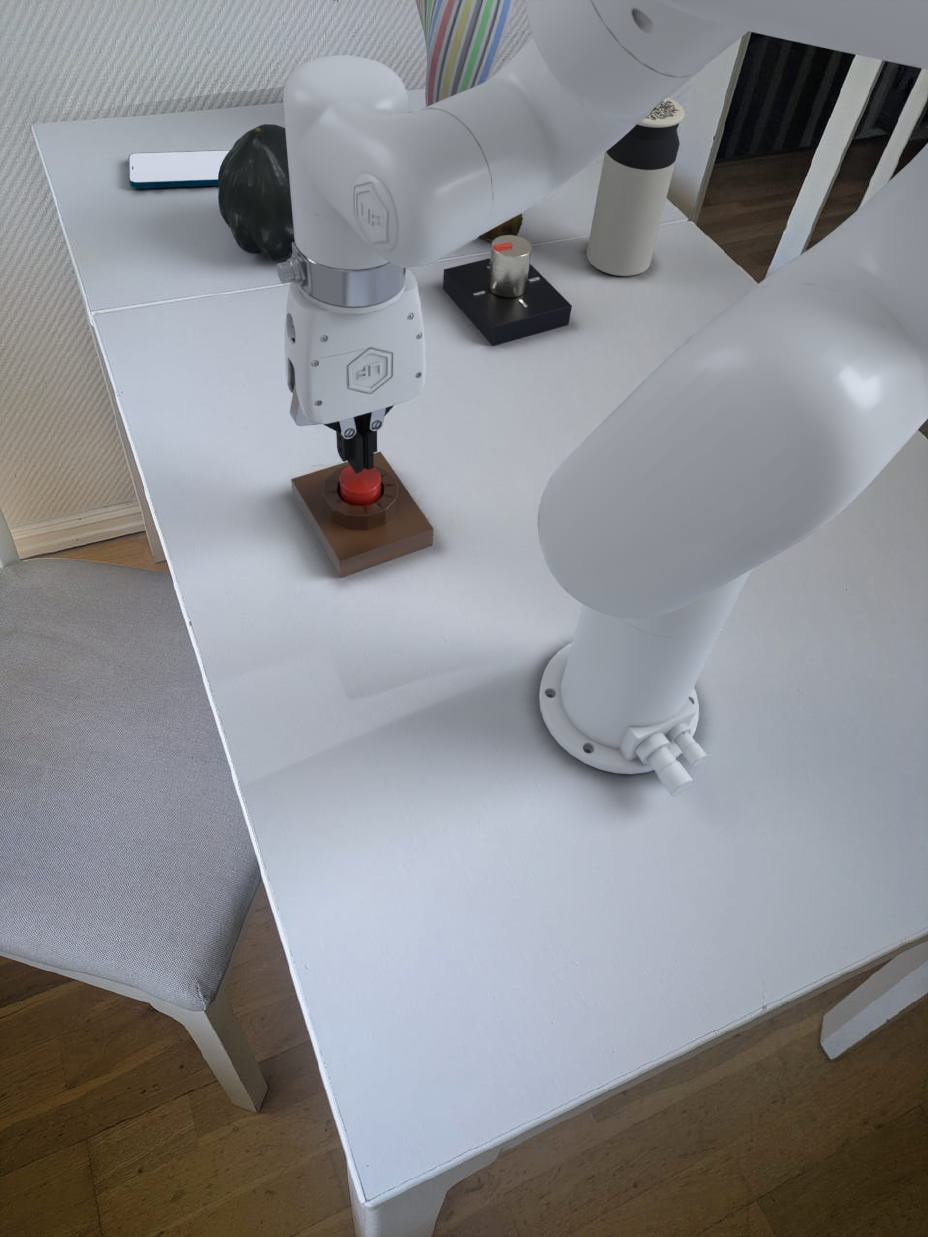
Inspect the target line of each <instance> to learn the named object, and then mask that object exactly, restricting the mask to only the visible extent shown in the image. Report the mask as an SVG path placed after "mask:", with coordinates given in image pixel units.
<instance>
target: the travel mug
mask: <svg viewBox="0 0 928 1237" xmlns="http://www.w3.org/2000/svg"><path fill="white" fill-rule="evenodd" d="M684 118H685V109H684V107H683V106H682V105H681V104H680V103H678V102H677V101H676V100H673V99H672V98H670V97H667V98H666V99H664V100H663V101H662V102H661V103H659V104H658V105H657V106H656V107H655V108H653V109H652V110H651V112H650V114H649V115H648V116H647V117H646V118H645V119H644V120H643V121H642V122H639V123H637V125H636V126H635V127H634V128H632V129H631V130H630V131H629V132H628V133H627V134H626V135H625V136H624V137H623V138H622V139H620V140H619V141H618V142H617V143H616V144H615V145H613V146H612V147H611V148H610V149H608V150H607V151H606V152H605V153H604V154H603V155H604V156H603V161H602V165H601V166H602V167H601V172H600V178H599V183H598V188H597V194H596V201H595V204H594V211H593V216H592V223H591V227H590V231H589V232H590V233H589V237H588V244H587V249H586V259H587V260H588V262H589V263H590V264H591V265H592V266H593V267H594V268H596V269H597V270H599V271H600V272H603V273H605V274H609V275H612V276H618V277H619V276H620V277H629V276H636V275H639V274H642V273H644V272H645V271H647V270H648V269H649V268H650V266H651V264H652V258H653V254H654V251H655V246H656V242H657V238H658V234H659V230H660V226H661V221H662V218H663V214H664V210H665V205H666V202H667V199H668V198H667V197H668V195H669V194H668V193H669V189H670V185H671V181H672V177H673V172H674V169H675V165H676V161H677V157H678V152H679V148H680V138H679V134H678V128H679V126H680V123H681V122H682V121H683V120H684Z"/></svg>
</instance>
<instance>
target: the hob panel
mask: <svg viewBox="0 0 928 1237" xmlns="http://www.w3.org/2000/svg"><path fill="white" fill-rule="evenodd" d="M489 267H490V257H489V258H485V259H481V260H476V261H473V262H468V263H464V264H460V265H456V266H452V267H448V268H444V269H443V277H442V278H443V279H442V289H443V291H444V292H445V293H446V294H447V295H448V296H449V298H450V299H451V300H452V301H453V302H454V303H455V305H456V306H457V307H458V308H459V309H460V310H461V311H462V313H463V314H464V315H465V316H466V317H467V318H468V319H469V321H470V322H471V323H472V324H473V325H474V326H475V327H476V329H477V330H478V331H479V332H480V333H481V334H482V335H483V337H484V338H485V339H486V340H487V341H488V342H489V343H490V345H491V346H493V347H494V346H498V345H501V344H505V343H509V342H512V341H516V340H520V339H522V338H526V337H529V336H533V335H538V334H541V333H544V332H548V331H551V330H555V329H559V328H562V327H566V326H569V325H570V319H571V315H572V314H571V313H572V308H573V305H572V304H571V303H570V302H569V301H568V300H567V299H566V298H565V297H564V296H563V294H561V293H560V292H559V290H558V289H556V288H555V287H554V286H553V285H552V284H551V282H549V280H548V279H547V278H545V277H544V276H543V275H542V274H541V272H540V271H538V270H537V268H535V267H534V265H532V264H531V263H530V264H529V272H528V280H527V287H526V291H525V292H524V293H523V294H522V295H520V296H518V297H513V298H506V297H501V296H498V295H495V294H494V293H492V292H491V291H490V290H489V288H488V277H489Z"/></svg>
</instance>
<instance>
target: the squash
mask: <svg viewBox="0 0 928 1237" xmlns="http://www.w3.org/2000/svg"><path fill="white" fill-rule="evenodd" d="M229 150H230V151H229V152H228V154H227V155H226V156H225V158H224V160H223V161H222V164H221V166H220V170H219V173H218V185H217V186H218V195H217V198H218V201H217V202H218V207H219V212H220V215H221V217H222V219H223V220H224V222H225V224H226V225H227V226H228V228H230V231H231V234H232V236H233V238H234V240H235V242H236V244H237V246H238V247H239V248H240V249H242V250H243V251H244V252H246V253H248V254H251V255H252V254H253V255H259V254H263V256H265V257H266V258H267V259H268V260H271V261H279V260H280V261H281V260H283V259H284V258H286V257H287V256H288V255H289V253H291V254H292V253H293V251H292V242H295V239H294V227H293V215H292V203H291V191H290V179H289V167H288V155H287V143H286V131H285V126H280V125H278V124H274V123H273V124H269V123H268V124H267V123H264V124H260V125H258V126H256V127H253V128H251V129H250V130H248V131H246V132H245V133H244V134H243V135H241V137H240V138H238V139H237V140H236V141H235V142H234V143H233V145H232V147H231V149H229Z"/></svg>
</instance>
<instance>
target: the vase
mask: <svg viewBox="0 0 928 1237" xmlns="http://www.w3.org/2000/svg"><path fill="white" fill-rule="evenodd" d="M415 4H416V8H417V13H418V17H419V20H420V23H421V27H422V30H423V35H424V41H425V49H426V50H425V52H426V72H425V73H426V75H425V91H424V98H425V107H428V106H430V105H432V104H435V103H437V102H439V101H442V100H444V99H446V98H449V97H451V96H453V95H456V94H458V93H460V92H463V91H466V90H468V89H471V88H473V87H476V86H478V85H480V84H482V83H484V82H485V81H487V80H488V79H490V78H491V77H492V73H493V70H494V68H495V66H496V63H497V60H498V57H499V55H500V52H501V50H502V49H501V48H502V46H503V43H504V40H505V37H506V33H507V31H508V27H509V24H510V20H511V17H512V14H513V10H514V4H515V0H415Z"/></svg>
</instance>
